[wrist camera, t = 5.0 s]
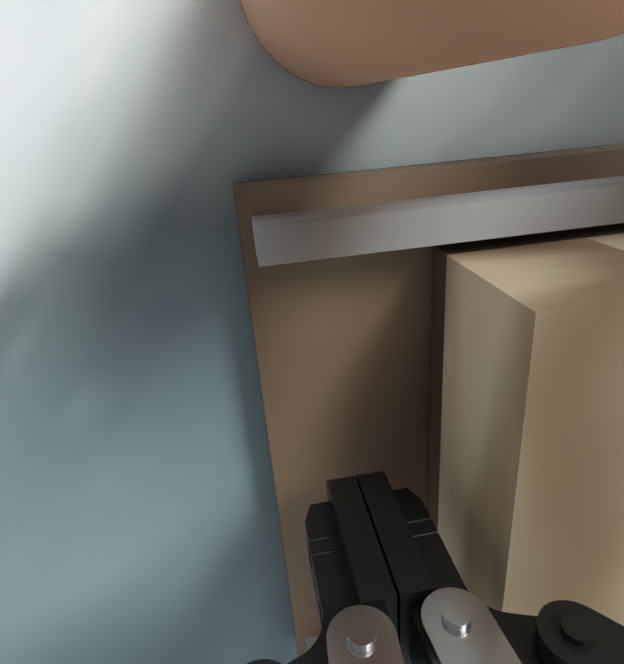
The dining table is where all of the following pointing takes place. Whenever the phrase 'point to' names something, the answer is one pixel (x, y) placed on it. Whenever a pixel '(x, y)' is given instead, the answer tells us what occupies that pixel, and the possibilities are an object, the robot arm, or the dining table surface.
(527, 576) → the socket block
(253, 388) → the dining table surface
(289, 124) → the dining table surface
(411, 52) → the dowel
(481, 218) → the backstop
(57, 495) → the dining table surface
